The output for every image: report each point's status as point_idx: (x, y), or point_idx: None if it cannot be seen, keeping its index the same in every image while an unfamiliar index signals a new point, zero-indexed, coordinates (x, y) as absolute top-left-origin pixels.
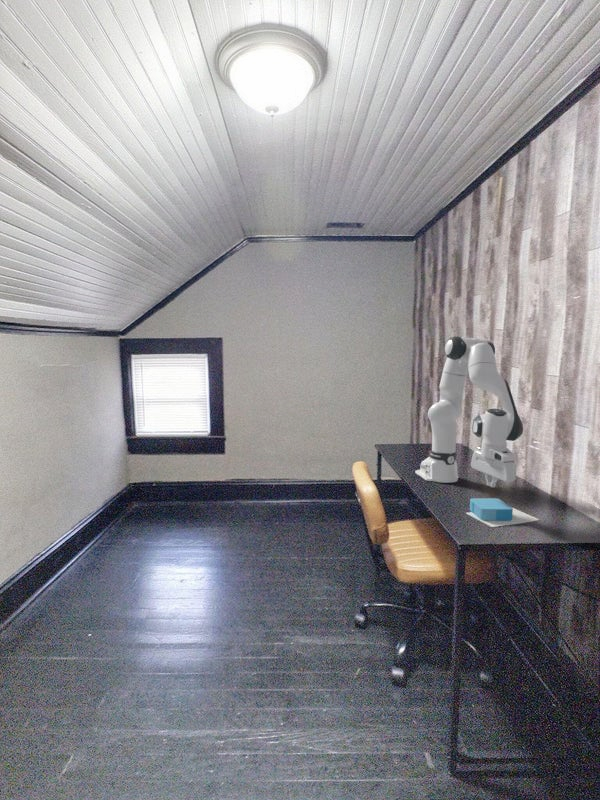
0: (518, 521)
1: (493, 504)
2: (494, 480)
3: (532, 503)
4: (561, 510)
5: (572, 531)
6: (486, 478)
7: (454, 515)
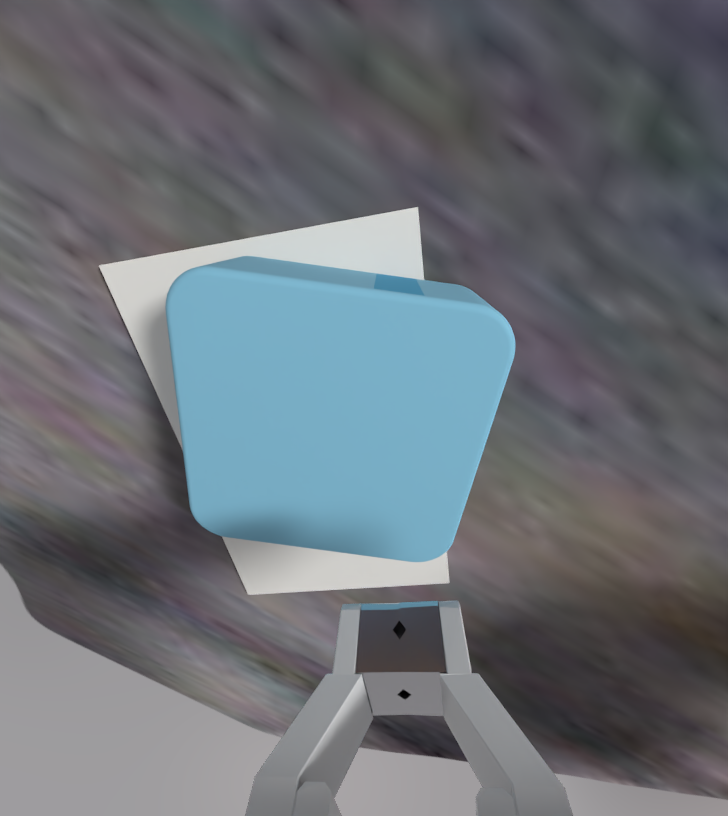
0: None
1: (300, 451)
2: (282, 756)
3: None
4: None
5: (127, 622)
6: (486, 725)
7: (392, 27)
